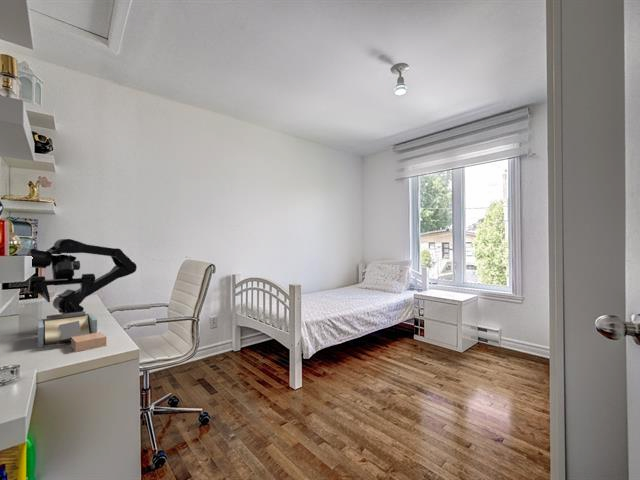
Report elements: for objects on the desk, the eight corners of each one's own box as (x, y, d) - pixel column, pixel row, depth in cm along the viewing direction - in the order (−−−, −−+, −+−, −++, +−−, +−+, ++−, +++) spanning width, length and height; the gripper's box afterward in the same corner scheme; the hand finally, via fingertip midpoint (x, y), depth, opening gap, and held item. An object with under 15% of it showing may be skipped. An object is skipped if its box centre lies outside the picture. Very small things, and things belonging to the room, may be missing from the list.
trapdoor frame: (37, 337, 107) (38, 319, 108) (90, 329, 118) (91, 313, 118) (38, 347, 97) (38, 327, 97) (96, 337, 107) (97, 319, 108)
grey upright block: (57, 327, 103) (59, 324, 97) (76, 323, 106) (78, 320, 101) (59, 341, 102) (61, 340, 97) (78, 337, 106) (81, 335, 100)
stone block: (71, 346, 98) (71, 337, 98) (100, 340, 104) (100, 331, 104) (75, 351, 93) (75, 342, 93) (106, 345, 99) (106, 336, 99)
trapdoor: (43, 319, 107) (44, 316, 107) (87, 314, 116) (87, 310, 115) (44, 345, 100) (44, 341, 99) (90, 337, 109) (90, 334, 108)
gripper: (30, 254, 105) (32, 288, 98) (94, 253, 119) (101, 283, 112) (27, 275, 111) (29, 308, 103) (90, 271, 124) (95, 301, 117)
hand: (66, 299), depth 109 cm, fingers open, 9 cm apart
